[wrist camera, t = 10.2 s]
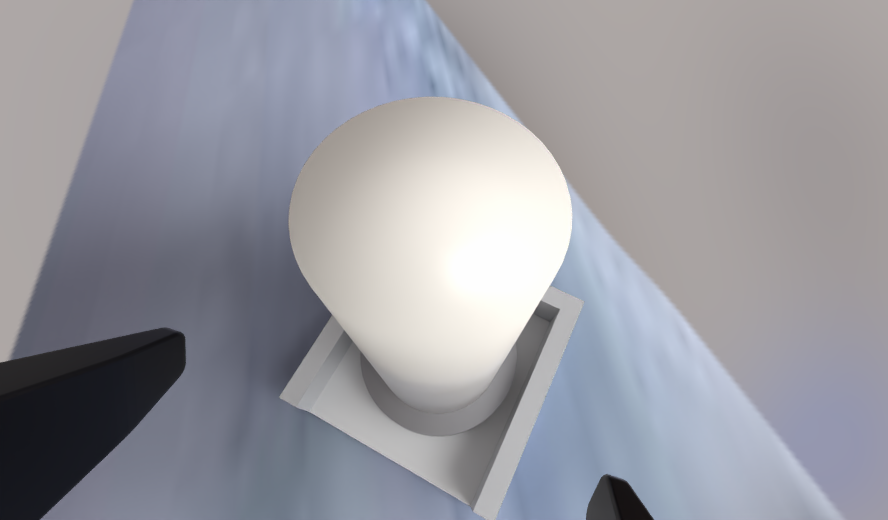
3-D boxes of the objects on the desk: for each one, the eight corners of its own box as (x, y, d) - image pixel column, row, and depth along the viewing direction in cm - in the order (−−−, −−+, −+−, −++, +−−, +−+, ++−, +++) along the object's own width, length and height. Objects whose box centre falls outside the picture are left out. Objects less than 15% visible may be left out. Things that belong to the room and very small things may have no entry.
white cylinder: (473, 467, 18) (529, 483, 6) (336, 389, 19) (159, 276, 7) (536, 326, 20) (664, 139, 8) (410, 265, 22) (368, 29, 10)
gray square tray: (487, 515, 18) (493, 523, 15) (298, 404, 19) (278, 397, 17) (569, 318, 21) (584, 301, 19) (401, 239, 23) (397, 215, 20)
